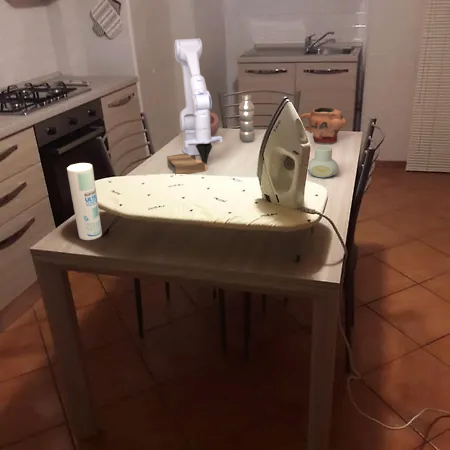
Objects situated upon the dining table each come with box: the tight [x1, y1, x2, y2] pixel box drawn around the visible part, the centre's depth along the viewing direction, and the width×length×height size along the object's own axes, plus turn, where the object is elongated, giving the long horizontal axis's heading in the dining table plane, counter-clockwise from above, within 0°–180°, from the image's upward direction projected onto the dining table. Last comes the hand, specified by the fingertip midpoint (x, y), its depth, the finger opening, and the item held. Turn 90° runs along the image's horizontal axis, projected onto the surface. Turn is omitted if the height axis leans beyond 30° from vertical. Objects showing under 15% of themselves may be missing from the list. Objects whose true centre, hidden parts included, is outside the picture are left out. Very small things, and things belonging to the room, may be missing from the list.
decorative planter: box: [299, 107, 347, 145], centre depth 213 cm, size 20×12×14 cm, turn 78°
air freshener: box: [307, 145, 339, 179], centre depth 176 cm, size 11×8×10 cm
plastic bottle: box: [238, 93, 256, 143], centre depth 215 cm, size 6×7×20 cm
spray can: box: [66, 162, 103, 241], centre depth 136 cm, size 6×6×20 cm
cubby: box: [166, 153, 206, 175], centre depth 188 cm, size 11×11×4 cm
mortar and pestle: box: [210, 111, 220, 137], centre depth 226 cm, size 12×12×11 cm
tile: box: [174, 158, 208, 171], centre depth 188 cm, size 8×10×2 cm
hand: (204, 162), depth 190 cm, fingers closed
